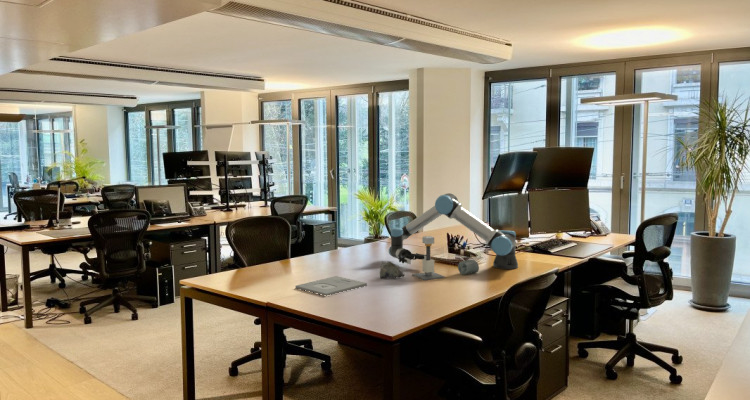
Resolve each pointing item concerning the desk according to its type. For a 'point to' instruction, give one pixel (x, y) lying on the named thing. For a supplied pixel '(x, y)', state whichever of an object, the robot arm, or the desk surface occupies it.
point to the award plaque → (331, 285)
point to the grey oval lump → (468, 267)
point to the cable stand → (431, 275)
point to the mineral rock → (390, 271)
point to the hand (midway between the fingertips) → (420, 261)
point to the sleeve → (427, 265)
